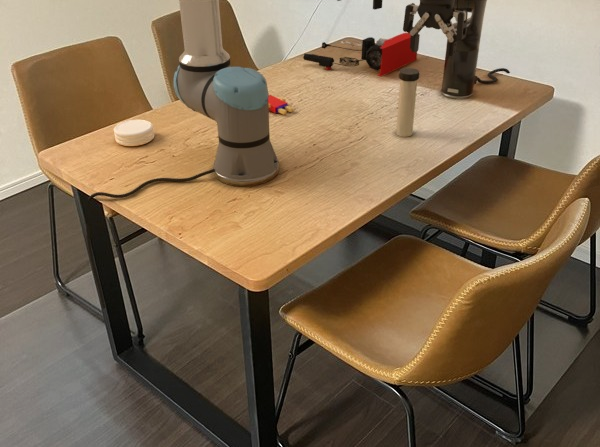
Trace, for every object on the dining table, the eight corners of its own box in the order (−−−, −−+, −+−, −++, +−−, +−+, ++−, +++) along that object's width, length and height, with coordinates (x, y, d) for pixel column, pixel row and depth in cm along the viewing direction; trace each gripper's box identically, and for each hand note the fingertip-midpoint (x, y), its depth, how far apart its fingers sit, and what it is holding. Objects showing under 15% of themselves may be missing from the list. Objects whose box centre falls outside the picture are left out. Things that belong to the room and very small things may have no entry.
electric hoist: (302, 34, 206) (381, 48, 191) (344, 20, 225) (419, 32, 210) (301, 64, 211) (379, 80, 196) (343, 48, 230) (416, 62, 215)
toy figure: (297, 104, 175) (269, 91, 182) (279, 110, 172) (251, 97, 178) (297, 112, 177) (269, 99, 184) (279, 119, 173) (251, 105, 180)
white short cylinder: (127, 150, 156) (124, 137, 154) (108, 138, 162) (106, 125, 160) (161, 139, 161) (159, 126, 159) (142, 127, 168) (140, 115, 166)
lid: (395, 78, 154) (395, 71, 153) (405, 73, 158) (406, 66, 157) (412, 82, 152) (412, 75, 151) (422, 77, 155) (423, 70, 154)
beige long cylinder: (393, 134, 162) (397, 73, 154) (401, 128, 165) (406, 69, 156) (406, 138, 160) (412, 76, 151) (415, 132, 163) (421, 72, 154)
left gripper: (410, -82, 149) (403, 9, 160) (338, -89, 165) (337, -6, 176) (388, -79, 145) (383, 15, 156) (317, -87, 161) (317, -2, 172)
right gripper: (477, -20, 132) (467, 55, 141) (416, -27, 139) (411, 45, 148) (463, -14, 127) (453, 64, 135) (401, -21, 134) (396, 53, 143)
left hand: (358, 4), depth 166 cm, fingers open, 13 cm apart
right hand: (431, 54), depth 142 cm, fingers open, 8 cm apart
